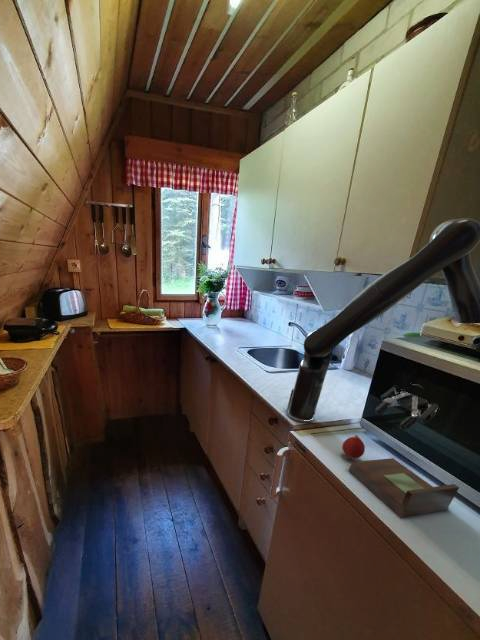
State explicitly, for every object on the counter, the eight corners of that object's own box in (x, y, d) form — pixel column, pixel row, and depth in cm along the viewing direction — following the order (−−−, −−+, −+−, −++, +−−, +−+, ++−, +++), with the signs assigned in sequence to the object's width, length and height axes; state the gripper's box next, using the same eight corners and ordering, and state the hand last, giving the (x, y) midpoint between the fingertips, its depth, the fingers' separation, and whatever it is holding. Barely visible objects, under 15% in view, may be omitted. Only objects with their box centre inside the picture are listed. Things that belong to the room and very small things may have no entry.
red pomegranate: (355, 454, 94) (364, 431, 91) (363, 465, 89) (372, 442, 86) (336, 451, 95) (344, 429, 92) (343, 462, 89) (351, 439, 86)
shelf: (348, 470, 86) (355, 450, 83) (389, 466, 90) (398, 446, 88) (400, 517, 71) (412, 494, 68) (447, 509, 75) (459, 487, 73)
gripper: (407, 366, 93) (365, 401, 94) (455, 385, 81) (406, 424, 82) (413, 382, 97) (373, 415, 98) (460, 402, 84) (413, 440, 85)
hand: (388, 420), depth 90 cm, fingers open, 8 cm apart
